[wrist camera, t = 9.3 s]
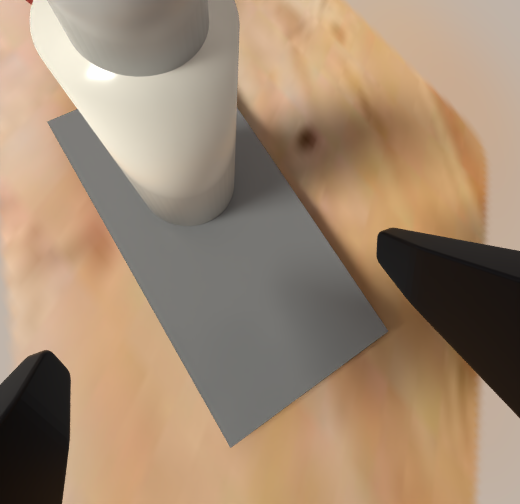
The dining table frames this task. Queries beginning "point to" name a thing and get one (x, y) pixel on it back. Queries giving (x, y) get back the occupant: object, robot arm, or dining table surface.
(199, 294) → the slate board
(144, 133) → the white bottle
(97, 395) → the dining table surface
